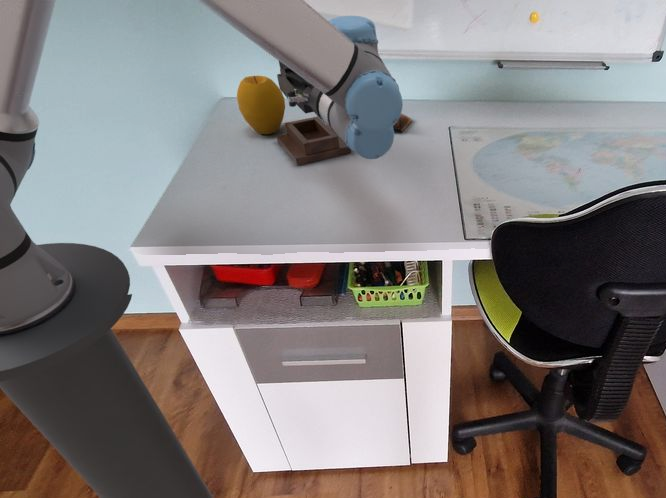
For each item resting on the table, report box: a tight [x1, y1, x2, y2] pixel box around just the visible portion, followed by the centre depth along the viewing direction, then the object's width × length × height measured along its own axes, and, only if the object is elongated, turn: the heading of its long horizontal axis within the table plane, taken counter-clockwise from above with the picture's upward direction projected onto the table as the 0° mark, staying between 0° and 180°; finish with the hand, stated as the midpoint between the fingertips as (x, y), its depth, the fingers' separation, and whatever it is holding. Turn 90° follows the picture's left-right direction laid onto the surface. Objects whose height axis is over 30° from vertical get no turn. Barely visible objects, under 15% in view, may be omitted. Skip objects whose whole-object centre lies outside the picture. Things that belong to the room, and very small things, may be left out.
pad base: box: [276, 115, 352, 166], centre depth 115 cm, size 12×12×4 cm
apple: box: [236, 75, 286, 135], centre depth 117 cm, size 10×10×12 cm
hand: (291, 64), depth 108 cm, fingers closed on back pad, 3 cm apart
